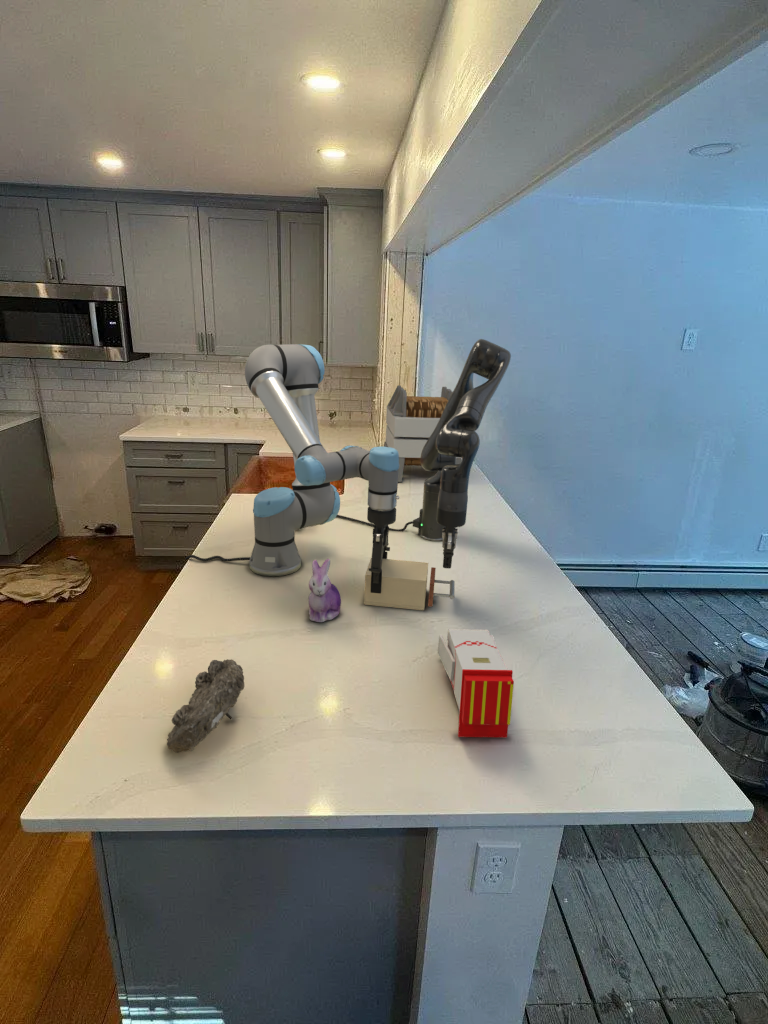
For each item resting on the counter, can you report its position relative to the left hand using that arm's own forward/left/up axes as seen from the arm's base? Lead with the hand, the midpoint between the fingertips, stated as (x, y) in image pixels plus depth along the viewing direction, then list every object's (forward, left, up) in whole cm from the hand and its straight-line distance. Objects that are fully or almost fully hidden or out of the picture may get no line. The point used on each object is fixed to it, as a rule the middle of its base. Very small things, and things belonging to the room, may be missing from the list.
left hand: (378, 582), depth 155 cm
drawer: (+10, +3, -3) cm, 11 cm away
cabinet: (+5, +2, -4) cm, 6 cm away
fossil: (-6, -59, -4) cm, 60 cm away
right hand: (+17, +6, +6) cm, 19 cm away
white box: (-37, +122, -4) cm, 127 cm away
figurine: (-8, -16, -4) cm, 18 cm away
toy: (+35, -28, -4) cm, 45 cm away
